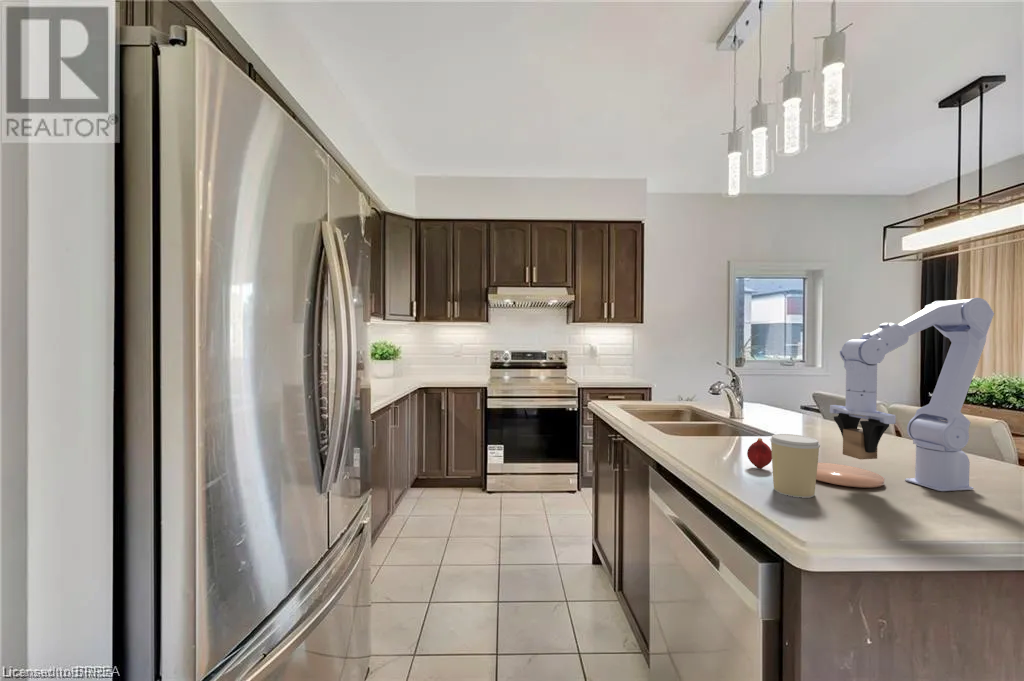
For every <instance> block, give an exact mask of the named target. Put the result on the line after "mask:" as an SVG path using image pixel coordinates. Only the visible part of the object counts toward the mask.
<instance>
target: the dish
mask: <svg viewBox="0 0 1024 681" xmlns="http://www.w3.org/2000/svg"><path fill="white" fill-rule="evenodd" d="M816 481H819V482H824V483H829V484H833V485H839V486H844V487H851V488H852V487H854V488H877V487H878V488H879V487H882V486H884V485H885V478H884V477H883V476H882V475H881V474H878V473H876V472H873V471H870V470H868V469H864V468H860V467H855V466H851V465H846V464H838V463H830V462H818V466H817V475H816Z"/></svg>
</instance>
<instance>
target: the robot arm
mask: <svg viewBox="0 0 1024 681" xmlns="http://www.w3.org/2000/svg"><path fill="white" fill-rule="evenodd" d="M988 302H989V301H987V300H986V299H984V298H981V297H972V298H966V299H953V300H951V299H949V300H934V301H933V302H931V303H929V304H926V305H924V308H923V309H921V310H919V311H917V312H916V313H914V314H912V315H911V316H909V317H907V318H906V319H904V320H902V321H901V322H899V323H896V322H895V323H893V322H883V323H881V324H879V325H878V328H877V329H875V330H872V331H871V332H865V333H863V334H861V337H860V338H857V339H855V338H854V339H849V340H847V341H845V343H844V344H843V345H842V347H841V349H840V350H839V356H840V358H841V359H842V361H843V367H844V369H845V405H837V404H830V405H829V414H836V416H835V415H834V416H833V421H834V422H835V423H836V424H837V427H838V428H839V431H840V432H841V436H842V438H843V429H858V426H859V424H860V426H861V429H863V434H864V446H865V452H868V453H873V452H876V449H877V450H878V446H879V443H880V441H881V438H882V437H883V435H884V433H885V432H886V431H887V429H888V428H889V427H890V425H895V424H896V421H897V420H896V419H897V417H896V416H897V415H896V414H891V413H887V412H884V411H880V410H877V406H878V405H877V397H878V396H877V394H878V393H877V392H878V391H877V390H878V388H877V387H878V364H880V363H882V361H883V360H884V359H885V356H886V355H887V354H889V353H890V352H892V351H894V350H896V349H899V348H900V347H902V346H904V345H906V344H907V343H908V342H909V337H910V336H913V335H914V334H917V333H919V332H921V331H924V330H926V329H928V328H931V327H934V328H935V329H936V330H938V331H939V333H941V334H942V335H943V337H945V338H948V340H949V341H950V342H951V344H950V346H949V349H948V352H947V354H946V357H945V360H944V363H943V365H942V368H941V370H940V374H939V376H938V378H937V382H936V385H935V388H934V389H933V392H932V394H931V398H930V401H929V403H928V404H926V405H923V406H922V407H919V408H917V409H916V412H915V413H914V416H913V417H911V418H910V420H909V421H908V423H907V425H906V433H907V436H908V437H909V438H910V439H911V440H912V444H913V445H915V467H914V468H915V469H914V470H915V471H914V472H915V475H914V476H915V477H908V478H905V479H904V480H905V481H906V482H909V483H912V484H915V485H918V486H922V487H926V488H928V489H932V490H935V491H938V492H951V491H954V492H955V491H969V490H971V491H972V490H974V487H973V486H970V467H971V466H970V463H971V462H970V458H969V457H968V455H967V454H966V453H965V452H964V450H963V449H964V448H965V447H966V446H967V445H968V443H969V441H970V440H969V439H970V432H969V431H970V425H971V421H970V420H969V419H968V418H967V417H966V416H965V414H963V413H962V408H963V405H964V402H965V400H966V397H967V394H968V392H969V390H970V386H971V383H972V380H973V378H974V376H975V372H976V370H977V367H978V364H979V361H980V359H981V356H982V353H983V351H984V348H985V345H986V343H987V342H986V341H987V334H988V331H989V330H990V326H991V323H992V320H993V318H994V316H995V312H994V311H993V309H992V308H991V306H990V304H989V303H988ZM861 419H862V420H861ZM863 419H864V420H863Z"/></svg>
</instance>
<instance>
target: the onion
mask: <svg viewBox="0 0 1024 681" xmlns="http://www.w3.org/2000/svg"><path fill="white" fill-rule="evenodd" d="M746 456H747V458H748V460H749V462H750V463H751V464H752V465H754V467H755V468H757V469H759V470H760V469H763V468H765V467H766V466H768V465H769V464H770V463H772V449H771V446H769V445H768V444H767V443H765V442H764V441H763V439H762V438H761V437H758V438H757V440H756V441H755V442H753V443H752V444H750V445H749V447H748V448H747V453H746Z"/></svg>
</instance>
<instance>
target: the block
mask: <svg viewBox="0 0 1024 681" xmlns="http://www.w3.org/2000/svg"><path fill="white" fill-rule="evenodd" d="M842 455H843V456H847V457H850V458H855V459H858V460H877V459H878V448H877V449H876V452H873V453H868V452H865V446H864V434H863V429H862V428H858V427H857V429H843V437H842Z"/></svg>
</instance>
